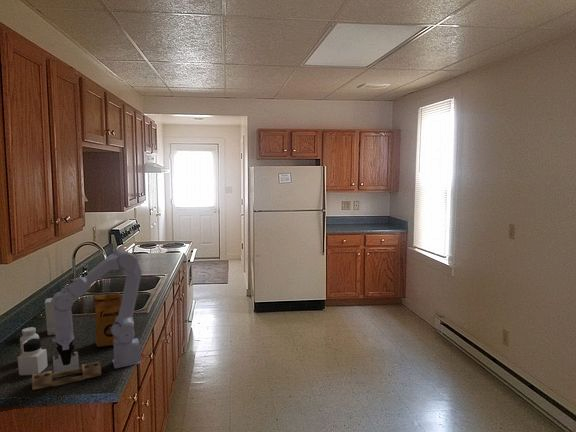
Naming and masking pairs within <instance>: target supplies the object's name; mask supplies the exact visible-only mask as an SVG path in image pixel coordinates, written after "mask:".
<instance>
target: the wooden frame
mask: <svg viewBox="0 0 576 432" xmlns="http://www.w3.org/2000/svg"><path fill="white" fill-rule="evenodd" d="M81 373H82V375H81ZM76 374H80V375H77V376H73V377H67V378H63V377H66V376H71V375H76ZM31 376H32V377H31V388H32V391H34V390H39V389H43V388H49V387H57V386H61V385H66V384H71V383H75V382H80V381H84V380H85V379H89V378H94V377H99V376H102V365H101V363H100V360H99V361H93V362H88V363H83V364H81V367H79V369H75V370H70V371H65V372H60V373H55V374H54V373H53V372H52V370H49V371H44V372H43V371H42V372H41V373H38V374H33V375H31ZM61 377H62V378H63V379H58V378H61ZM53 379H58V380H55V381H54V380H53Z"/></svg>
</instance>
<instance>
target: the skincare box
mask: <svg viewBox="0 0 576 432" xmlns="http://www.w3.org/2000/svg"><path fill="white" fill-rule="evenodd" d="M52 298H53V297H49V298H46V299H45V301H44V309H45V310H44V311H45V312H44V313H45V319H46V320H45V321H46V330H47V333H46V334H47V336H53V335H54V336H56V335H55V322H54V307H55V306H54V305H53V304H52V303H51V300H52Z"/></svg>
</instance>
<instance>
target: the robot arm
mask: <svg viewBox="0 0 576 432" xmlns="http://www.w3.org/2000/svg"><path fill="white" fill-rule="evenodd" d="M120 269H121V270H122V271H123V272H124V273H125V276H126V277H125V283H124V287H123V291H122V297H121V306H120V311H119V315H118V316H117V317H116V319H115V323H114V324H113V325H112V327H111V333H112V335H113V336H114V340H113V345H112V346H113V357H114V358H113V359H112V360H111V361H112V364H113V367H114V369H120V368H124V367H129V366H133V365H139V364H141V363H142V362H141V347H140V346H141V345H140V341H139V338H137V337H135V329H134V328H135V322H134V317H133V316H134V313H135V307H136V304H137V297H138V293H139V287H140V283H141V279H142V278H141V277H142V269H141V266H140V264H139V259H138V258H137V256H135V254H134V253H132V252H128V251H126V250H125V249H121V248H120V249H116V250H114V252H112V253H110V254H109V255H108V256H107V257H106V258H105V259H103V260H102V261H101V262H100V263H99V264H98V265H97V266H96V267H95V268H93V269H92V270H91V271H90V272H89V273H88V274H87V275H85V276H79V277H75V278H73V279H72V282H71V283H70V284H68V285H67V286H66V287H65V288H64V287H63V288H61V290H60V291H58V292H56V293H54V295H53V296H52V297H51V298H52V300H51V303H52V304H53V305H54V306H55V307H54V322H55V335H54V336H55V338H51V342H52V343H55V344H56V345H57V346H56V351H57V352H58V355H60V356H61V359H62V363H63V365H69V364H70V362H71V354H72V352H74V351H73V350H74V349H75V344H73V343H74V339H75V335H74V322H73V312H72V307H73V304H74V302H75V301H77V300H78V299H80V297H82V296H83V295H84V294H85V293H87V292H89V290H90V289H91V285H92V284H93V283H94V282H95V281H97V280H98V279H100V278H101V277H103V275H105V274H106V273H108V272H109V271H116V270H120Z"/></svg>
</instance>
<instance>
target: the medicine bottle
mask: <svg viewBox="0 0 576 432" xmlns="http://www.w3.org/2000/svg"><path fill="white" fill-rule="evenodd" d="M41 341H42V340H40V338H39V339H36V338H33V339H28V340H26V341H24V342H23V343H22V350H23V354H21V353H20V355H19V356H17V364H18V365H17V366H18V375H19V376H32V375H33V374H38V373H43V371H44V370H45V369H46V368H47V367H48V354H47V353H48V351H47V349H46V348H42V342H41Z"/></svg>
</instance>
